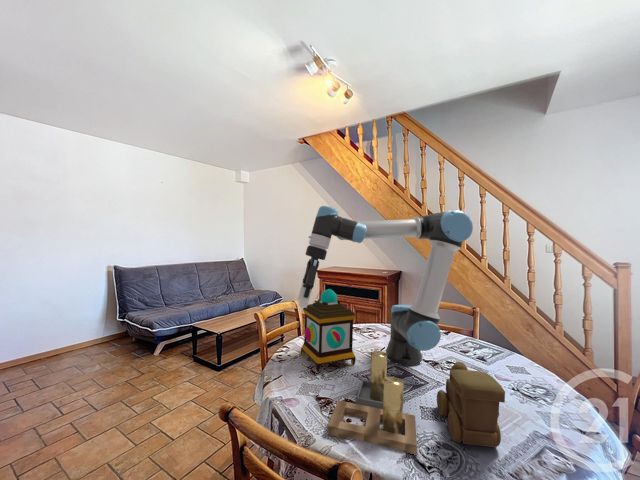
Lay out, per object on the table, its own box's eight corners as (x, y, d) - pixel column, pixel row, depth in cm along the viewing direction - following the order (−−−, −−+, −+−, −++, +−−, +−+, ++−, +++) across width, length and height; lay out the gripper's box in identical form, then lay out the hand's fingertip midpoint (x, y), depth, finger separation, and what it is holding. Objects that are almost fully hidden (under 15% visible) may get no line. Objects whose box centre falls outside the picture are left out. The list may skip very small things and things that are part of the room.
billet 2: (391, 425, 78) (392, 375, 78) (405, 436, 74) (407, 383, 74) (378, 431, 75) (380, 379, 75) (392, 443, 71) (394, 388, 71)
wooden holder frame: (327, 435, 73) (328, 425, 73) (338, 408, 85) (338, 400, 85) (416, 456, 67) (417, 445, 67) (414, 424, 79) (415, 415, 78)
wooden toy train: (507, 461, 66) (509, 391, 66) (456, 454, 68) (458, 386, 68) (472, 409, 86) (474, 355, 86) (433, 405, 88) (435, 352, 88)
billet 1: (377, 391, 94) (379, 349, 94) (389, 399, 90) (390, 355, 89) (366, 395, 91) (367, 352, 91) (377, 403, 87) (379, 358, 87)
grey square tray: (361, 386, 98) (361, 379, 98) (397, 393, 94) (397, 385, 94) (356, 406, 86) (356, 398, 86) (396, 414, 83) (396, 405, 83)
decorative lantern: (336, 348, 131) (338, 284, 131) (360, 366, 113) (362, 292, 113) (296, 354, 123) (298, 286, 122) (315, 375, 105) (317, 295, 104)
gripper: (306, 245, 116) (291, 296, 114) (310, 243, 91) (292, 306, 89) (323, 251, 117) (309, 300, 115) (332, 249, 92) (314, 312, 90)
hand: (301, 303), depth 102 cm, fingers open, 13 cm apart
